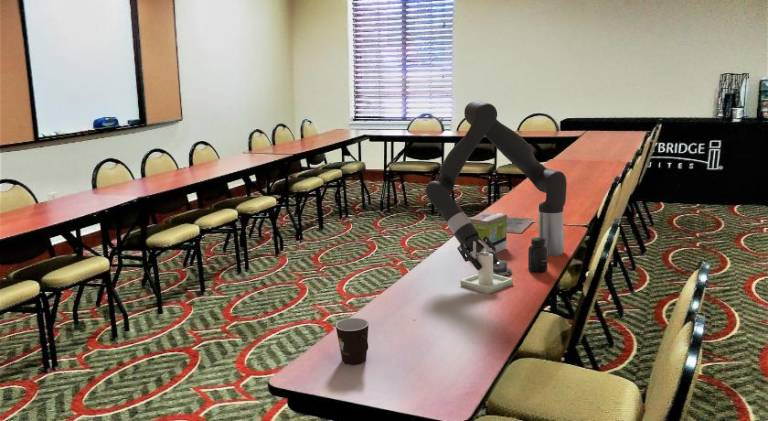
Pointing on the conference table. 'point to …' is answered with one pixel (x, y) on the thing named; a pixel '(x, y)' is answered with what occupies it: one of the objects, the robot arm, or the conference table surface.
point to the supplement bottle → (537, 256)
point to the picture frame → (518, 224)
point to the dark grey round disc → (501, 268)
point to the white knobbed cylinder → (485, 268)
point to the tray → (497, 284)
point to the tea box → (492, 228)
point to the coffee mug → (353, 340)
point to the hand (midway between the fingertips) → (488, 266)
